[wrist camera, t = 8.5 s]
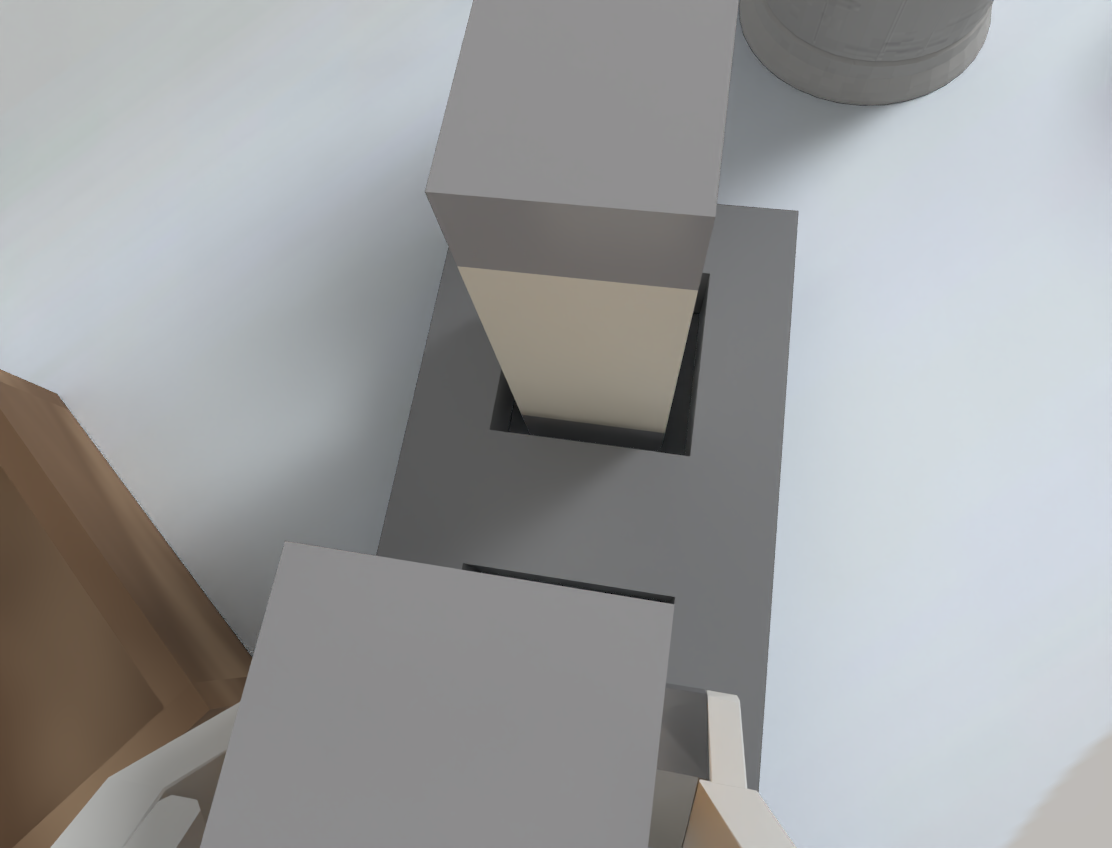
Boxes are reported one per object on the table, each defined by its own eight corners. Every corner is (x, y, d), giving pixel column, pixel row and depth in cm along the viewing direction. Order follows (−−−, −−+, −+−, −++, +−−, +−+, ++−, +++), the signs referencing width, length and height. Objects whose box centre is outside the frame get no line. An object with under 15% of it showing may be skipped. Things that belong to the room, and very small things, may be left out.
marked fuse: (617, 794, 17) (623, 1129, 5) (457, 762, 17) (150, 1006, 6) (638, 623, 18) (680, 600, 6) (487, 598, 18) (281, 535, 7)
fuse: (660, 452, 20) (715, 217, 9) (530, 435, 21) (424, 191, 9) (675, 331, 21) (740, -15, 10) (551, 317, 22) (479, -26, 11)
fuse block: (726, 938, 17) (745, 989, 14) (341, 852, 18) (298, 885, 15) (779, 257, 22) (798, 210, 20) (479, 229, 23) (463, 182, 21)
